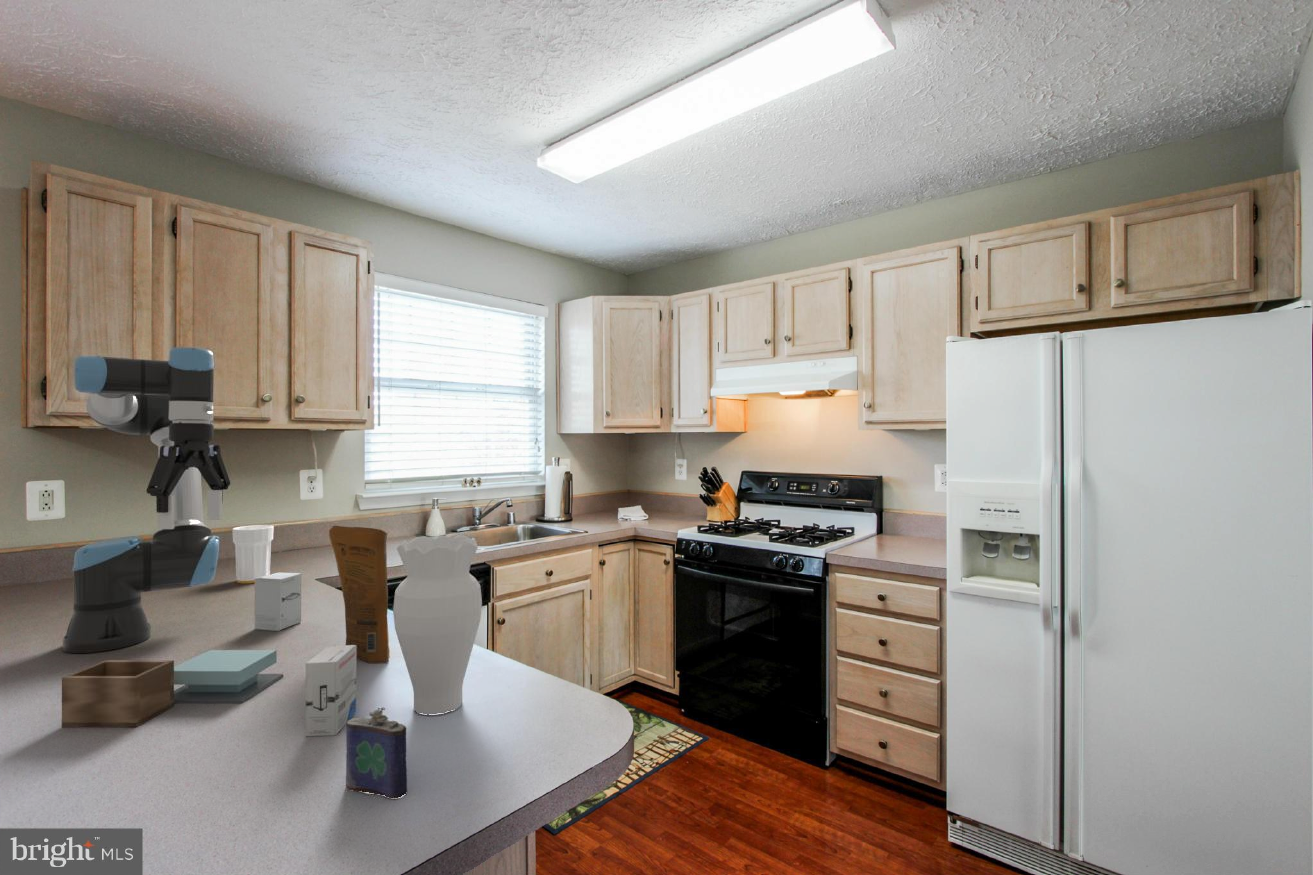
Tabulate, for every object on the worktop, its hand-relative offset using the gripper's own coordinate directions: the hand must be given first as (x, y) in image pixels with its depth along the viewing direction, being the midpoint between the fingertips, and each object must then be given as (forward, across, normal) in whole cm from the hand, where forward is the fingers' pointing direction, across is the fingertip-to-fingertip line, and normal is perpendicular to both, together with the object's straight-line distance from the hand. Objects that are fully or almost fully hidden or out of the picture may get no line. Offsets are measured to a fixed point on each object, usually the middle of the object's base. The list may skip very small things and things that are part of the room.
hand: (191, 524), depth 131 cm
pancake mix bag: (+29, +4, -34) cm, 45 cm away
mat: (+29, -14, -16) cm, 36 cm away
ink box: (+29, -28, -44) cm, 60 cm away
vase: (+29, -21, -59) cm, 69 cm away
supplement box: (+29, +25, -3) cm, 38 cm away
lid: (+26, -14, -16) cm, 34 cm away
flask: (+29, -47, -60) cm, 82 cm away
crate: (+29, -26, -7) cm, 39 cm away
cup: (+29, +74, +35) cm, 87 cm away
